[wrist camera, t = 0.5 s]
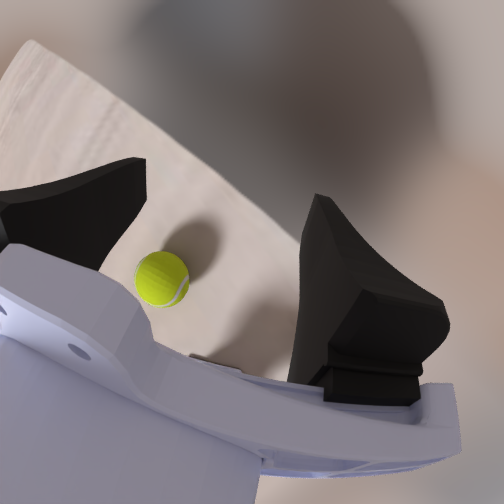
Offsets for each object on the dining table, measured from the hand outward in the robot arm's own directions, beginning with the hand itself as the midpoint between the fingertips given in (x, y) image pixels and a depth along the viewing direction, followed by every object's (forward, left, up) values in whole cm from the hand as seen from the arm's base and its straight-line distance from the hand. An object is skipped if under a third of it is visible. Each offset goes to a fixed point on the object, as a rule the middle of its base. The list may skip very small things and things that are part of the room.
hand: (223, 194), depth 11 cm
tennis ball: (-10, +8, -23) cm, 27 cm away
